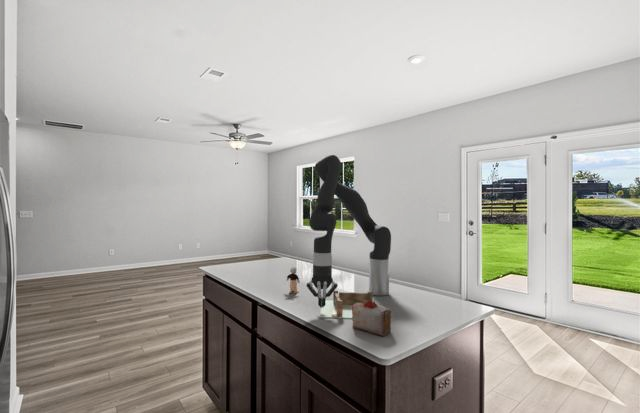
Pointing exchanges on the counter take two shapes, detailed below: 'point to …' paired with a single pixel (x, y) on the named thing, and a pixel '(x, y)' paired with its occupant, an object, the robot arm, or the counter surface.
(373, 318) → the food item
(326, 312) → the card
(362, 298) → the fixed fence section
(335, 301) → the hinged fence panel
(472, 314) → the counter surface
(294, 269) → the grandmother figurine
